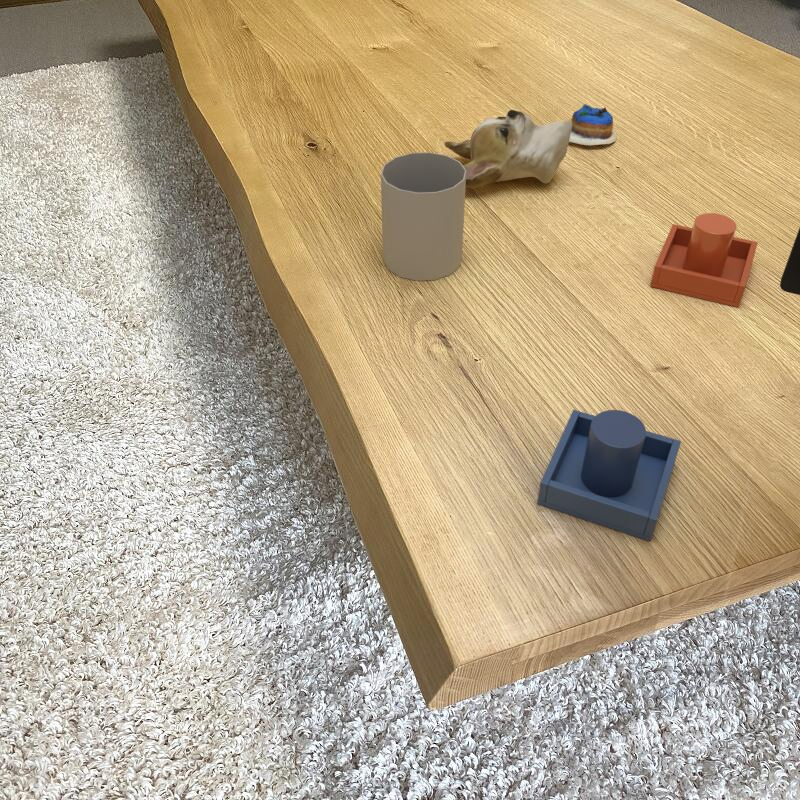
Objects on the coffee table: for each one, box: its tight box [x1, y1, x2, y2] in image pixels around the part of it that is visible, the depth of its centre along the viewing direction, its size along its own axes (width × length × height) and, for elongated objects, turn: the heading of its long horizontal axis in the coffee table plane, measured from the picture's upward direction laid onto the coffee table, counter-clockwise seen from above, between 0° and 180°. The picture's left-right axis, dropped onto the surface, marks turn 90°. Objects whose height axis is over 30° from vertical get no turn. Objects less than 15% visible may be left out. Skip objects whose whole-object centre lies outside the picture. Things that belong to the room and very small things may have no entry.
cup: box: [380, 151, 467, 282], centre depth 86 cm, size 8×8×10 cm
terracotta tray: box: [649, 223, 759, 308], centre depth 85 cm, size 9×9×2 cm
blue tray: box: [536, 409, 682, 542], centre depth 65 cm, size 9×9×2 cm
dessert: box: [569, 103, 617, 146], centre depth 109 cm, size 8×7×6 cm
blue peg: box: [581, 409, 647, 497], centre depth 64 cm, size 4×4×6 cm
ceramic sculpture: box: [443, 109, 572, 189], centre depth 99 cm, size 11×9×15 cm
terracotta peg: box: [682, 212, 738, 278], centre depth 84 cm, size 4×4×6 cm
